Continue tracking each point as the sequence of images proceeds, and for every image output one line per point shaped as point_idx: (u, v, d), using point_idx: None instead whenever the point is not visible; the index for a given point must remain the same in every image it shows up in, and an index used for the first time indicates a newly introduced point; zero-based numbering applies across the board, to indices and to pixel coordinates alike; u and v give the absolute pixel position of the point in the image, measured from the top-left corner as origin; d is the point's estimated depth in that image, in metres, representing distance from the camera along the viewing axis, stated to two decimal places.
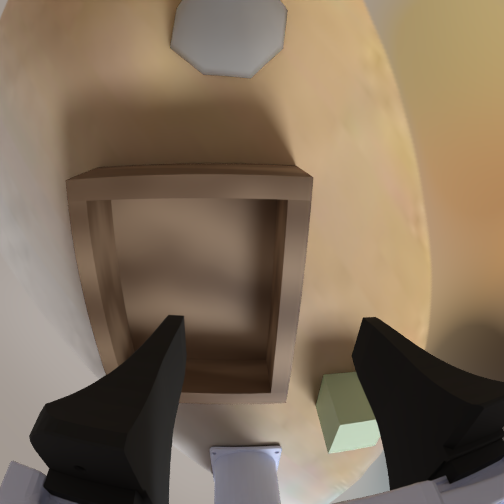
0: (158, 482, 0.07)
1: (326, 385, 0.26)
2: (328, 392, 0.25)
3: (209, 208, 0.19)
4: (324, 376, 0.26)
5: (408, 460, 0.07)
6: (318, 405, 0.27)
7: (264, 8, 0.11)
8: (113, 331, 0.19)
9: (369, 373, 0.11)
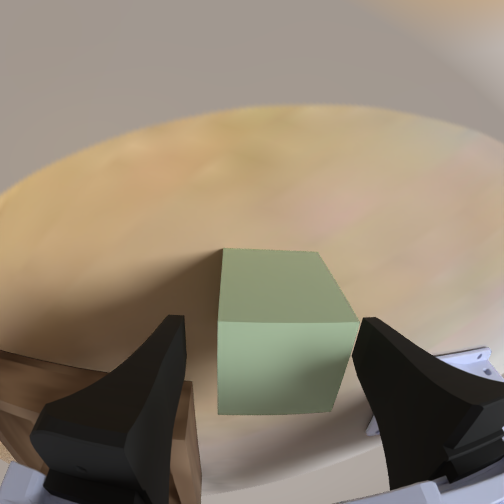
0: (158, 482, 0.07)
1: None
2: None
3: None
4: None
5: (408, 460, 0.07)
6: None
7: None
8: None
9: (369, 373, 0.11)
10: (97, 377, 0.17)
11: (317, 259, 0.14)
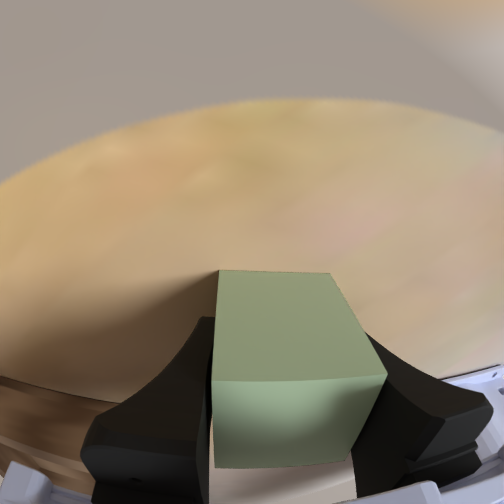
0: (205, 486, 0.07)
1: None
2: None
3: None
4: None
5: (373, 468, 0.07)
6: None
7: None
8: None
9: None
10: (83, 404, 0.15)
11: (331, 284, 0.12)
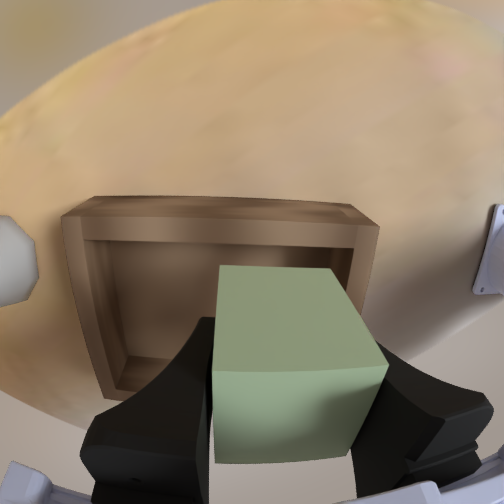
0: (205, 486, 0.07)
1: None
2: None
3: (136, 281, 0.19)
4: None
5: (373, 468, 0.07)
6: None
7: None
8: None
9: None
10: (253, 200, 0.18)
11: (331, 278, 0.12)
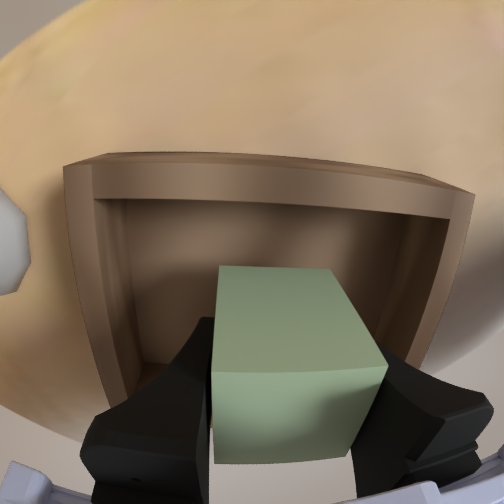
0: (205, 486, 0.07)
1: None
2: None
3: (159, 265, 0.15)
4: None
5: (372, 468, 0.07)
6: None
7: None
8: None
9: None
10: (319, 160, 0.14)
11: (331, 279, 0.12)
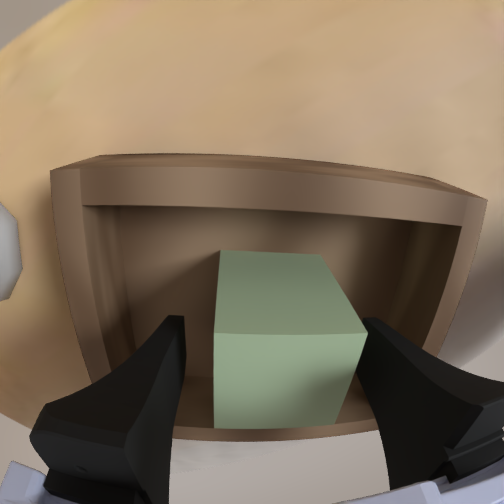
0: (158, 482, 0.07)
1: None
2: None
3: (154, 273, 0.14)
4: None
5: (408, 459, 0.07)
6: None
7: None
8: None
9: (369, 373, 0.11)
10: (324, 162, 0.13)
11: (320, 263, 0.13)
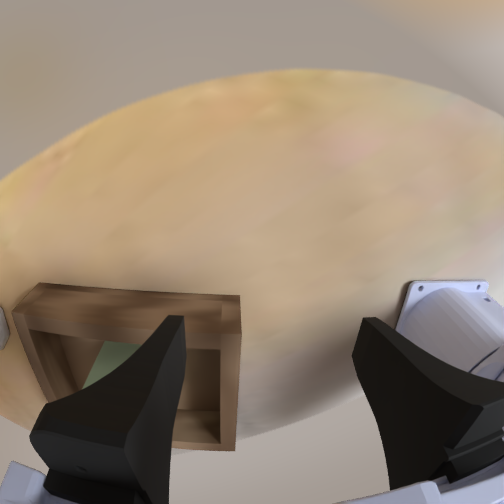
0: (158, 482, 0.07)
1: None
2: None
3: (76, 346, 0.22)
4: None
5: (408, 460, 0.07)
6: None
7: None
8: None
9: (369, 373, 0.11)
10: (152, 295, 0.21)
11: None
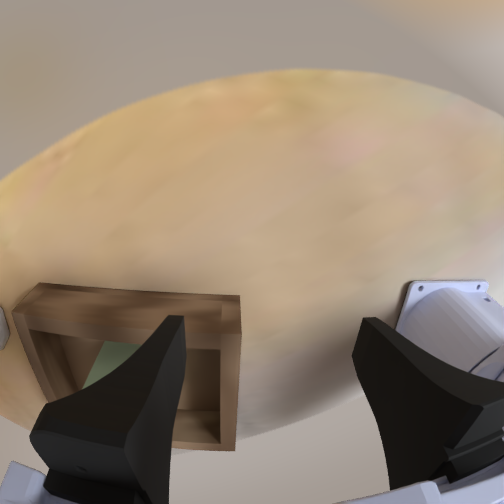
0: (158, 482, 0.07)
1: None
2: None
3: (76, 346, 0.22)
4: None
5: (408, 460, 0.07)
6: None
7: None
8: None
9: (369, 373, 0.11)
10: (152, 295, 0.21)
11: None
